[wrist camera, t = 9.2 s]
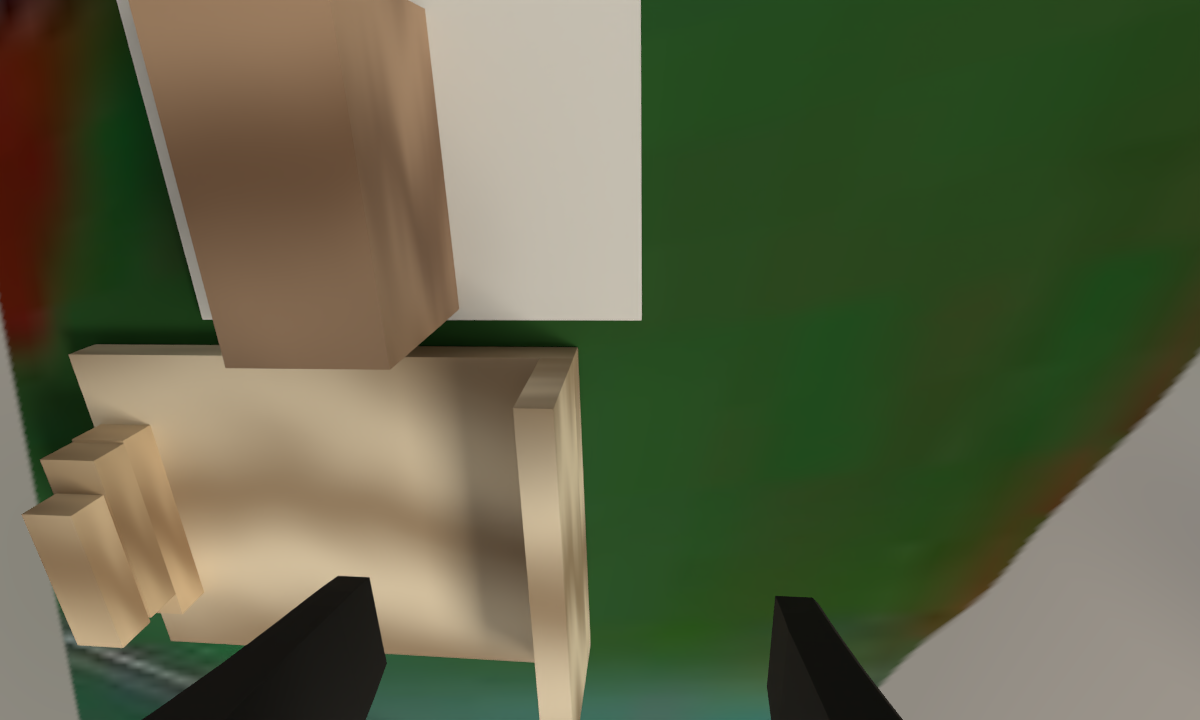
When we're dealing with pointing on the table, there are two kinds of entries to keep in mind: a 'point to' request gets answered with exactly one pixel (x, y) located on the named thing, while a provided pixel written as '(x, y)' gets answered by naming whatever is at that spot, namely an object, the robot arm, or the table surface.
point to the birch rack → (376, 495)
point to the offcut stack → (113, 535)
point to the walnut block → (306, 174)
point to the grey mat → (521, 155)
